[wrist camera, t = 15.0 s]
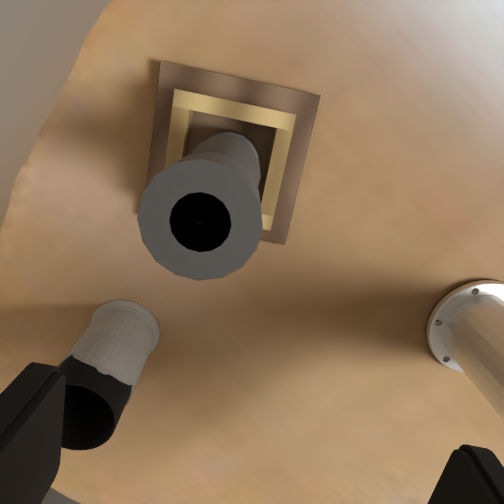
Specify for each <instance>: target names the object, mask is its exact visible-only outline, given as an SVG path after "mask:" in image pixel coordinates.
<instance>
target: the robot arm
mask: <svg viewBox="0 0 504 504" xmlns="http://www.w3.org/2000/svg"><path fill="white" fill-rule="evenodd" d="M427 341H428V345H429V347H430V349H431V351H432V353H433V354H434V355H435V357H436V358H437V359H438V360H439V361H440V362H441V363H442V364H443V365H445V366H446V367H448V368H450V369H452V370H455V371H458V372H463V373H465V374H466V375H467V376H468V377H469V378H470V380H471V381H472V382H473V383H474V384H475V386H476V387H477V388H478V389H479V391H480V392H481V393H482V394H483V395H484V397H485V398H486V399H487V400H488V401H489V403H490V404H491V405H492V406H493V408H494V409H495V410H496V411H497V412H498V414H499V415H500V416H501V417H502V418H503V420H504V282H500V281H495V280H481V281H475V282H471V283H468V284H465V285H462V286H460V287H458V288H456V289H455V290H453V291H451V292H450V293H449V294H447V295H446V296H445V297H444V298H443V299H442V300H441V301H440V302H439V303H438V304H437V306H436V307H435V309H434V310H433V311H432V314H431V316H430V318H429V321H428V325H427ZM65 387H66V376H65V375H63V374H60V370H59V367H56V366H51V365H46V364H41V363H35V362H32V363H30V364H29V365H28V366H27V367H26V368H25V369H24V370H23V371H22V372H21V373H20V374H19V375H18V376H17V377H16V378H15V379H14V380H13V381H12V383H11V384H10V385H9V386H8V387H7V388H6V389H5V390H4V391H3V392H2V393H1V394H0V504H41V502H42V500H43V499H44V497H45V495H46V493H47V492H48V490H49V488H50V486H51V485H52V483H53V481H54V479H55V477H56V475H57V472H58V469H59V465H60V456H61V442H62V428H63V414H64V401H65ZM428 504H504V467H503V466H502V464H501V463H500V461H499V460H498V459H497V457H496V456H495V454H494V453H493V452H492V451H491V450H489V449H487V448H481V447H476V446H471V445H462V446H460V447H459V449H458V450H454V451H453V452H452V454H451V456H450V458H449V460H448V462H447V464H446V466H445V468H444V470H443V473H442V475H441V477H440V479H439V481H438V483H437V485H436V487H435V489H434V491H433V493H432V495H431V498H430V500H429V502H428Z"/></svg>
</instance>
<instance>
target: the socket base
mask: <svg viewBox="0 0 504 504" xmlns="http://www.w3.org/2000/svg"><path fill="white" fill-rule="evenodd" d="M320 96H321V95H316V94H311V93H307V92H302V91H298V90H293V89H288V88H284V87H279V86H274V85H270V84H265V83H261V82H256V81H251V80H247V79H242V78H238V77H233V76H228V75H224V74H219V73H215V72H210V71H205V70H201V69H196V68H192V67H187V66H182V65H178V64H173V63H169V62H164V61H161V64H160V72H159V81H158V90H157V99H156V108H155V117H154V126H153V135H152V144H151V153H150V162H149V171H148V180H147V187H148V185H149V184H150V182H151V181H152V179H153V178H154V176H155V175H156V174H158V173H160V172H161V171H163V170H164V169H166V168H167V167H169V166H171V165H172V164H174V163H176V162H177V161H179V160H181V159H182V158H184V157H186V156H187V155H191V154H192V152H193V151H194V150H195V148H196V147H197V145H199V144H200V143H202V142H203V141H205V140H207V139H208V138H210V137H211V136H213V135H215V134H216V133H218V132H221V131H229V130H233V131H236V132H240V133H243V134H244V135H245V136H247V137H248V138H249V139H250V140H252V142H253V143H254V145H255V147H256V149H257V151H258V156H259V165H260V175H261V178H260V181H259V185H258V190H259V195H260V204H261V212H262V222H263V229H262V232H261V236H260V239H259V240H261V241H267V242H272V243H277V244H282V245H285V242H286V238H287V234H288V230H289V225H290V221H291V217H292V213H293V209H294V204H295V200H296V196H297V192H298V188H299V184H300V179H301V175H302V171H303V167H304V163H305V158H306V154H307V150H308V146H309V142H310V138H311V133H312V129H313V125H314V121H315V117H316V112H317V108H318V104H319V100H320Z"/></svg>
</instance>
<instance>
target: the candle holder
mask: <svg viewBox="0 0 504 504" xmlns="http://www.w3.org/2000/svg"><path fill="white" fill-rule="evenodd" d="M260 178H261V175H260V165H259V156H258V151H257V149H256V147H255V145H254V143H253V142H252V140H250V139H249V138H248V137H247V136H245V135H244V134H243V133H240V132H236V131H233V130H229V131H221V132H218V133H216V134H215V135H213V136H211V137H210V138H208V139H207V140H205V141H203V142H202V143H200V144H199V145H197V147H196V148H195V150H194V151H193V152H192V154H191V155H187V156H186V157H184V158H182V159H181V160H179V161H177V162H176V163H174V164H172V165H171V166H169V167H167V168H166V169H164V170H163V171H161V172H160V173H158V174H156V175H155V176H154V178H153V179H152V181H151V182H150V184H149V185H148V187H147V188H146V190H145V191H144V192H143V194H142V196H141V202H140V207H139V212H138V218H137V219H138V223H139V228H140V232H141V237H142V241H143V243H144V244H145V246H146V247H147V249H148V250H149V252H150V253H151V254H152V256H153V257H154V259H155V260H156V262H158V263H159V264H161V265H162V266H164V267H165V268H167V269H168V270H170V271H171V272H173V273H174V274H175V275H179V276H183V277H187V278H191V279H195V280H207V279H216V278H222V277H224V276H226V275H228V274H230V273H232V272H234V271H235V270H237V269H239V268H241V267H242V266H243V265H244V264H245V263H246V261H247V260H248V259H249V258H250V257H251V255H252V254H253V253H254V252H255V251H256V249H257V246H258V242H259V239H260V236H261V232H262V229H263V222H262V212H261V204H260V195H259V190H258V185H259V181H260Z"/></svg>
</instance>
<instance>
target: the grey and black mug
mask: <svg viewBox="0 0 504 504" xmlns="http://www.w3.org/2000/svg"><path fill="white" fill-rule="evenodd" d="M159 335H160V332H159V326H158V323H157V321H156V319H155V317H154V316H153V315H152V314H151V312H150V311H148V310H147V309H146V308H145V307H143V306H142V305H140V304H138V303H135V302H132V301H127V300H115V301H110V302H107V303H105V304H103V305H102V306H100V307H99V308H98V309H97V310H96V311H95V312H94V314H93V315H92V318H91V320H90V325H89V326H88V328H87V329H86V330H85V331H84V333H83V334H82V335H81V337H80V338H79V339H78V341H77V342H76V343H75V344H74V346H73V347H72V348H71V350H70V351H69V352H68V354H67V355H66V356H65V357H64V359H63V360H62V361H61V363H60V364H59V365H58V367H59V370H60V374H63V375H65V376H66V387H65V401H64V414H63V428H62V442H61V447H63V448H66V449H71V450H88V449H93V448H96V447H98V446H100V445H102V444H104V443H105V442H106V441H108V440H109V438H110V437H111V436H112V434H113V432H114V430H115V428H116V425H117V423H118V421H119V419H120V416H121V414H122V412H123V409H124V407H125V405H126V404H127V403H128V402H129V400H130V398H131V395H132V393H133V391H134V388H135V386H136V384H137V381H138V379H139V377H140V374H141V372H142V370H143V367H144V365H145V363H146V360H147V358H148V356H149V354H150V353H152V351H153V350H154V349H155V348H156V346H157V344H158V341H159Z"/></svg>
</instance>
